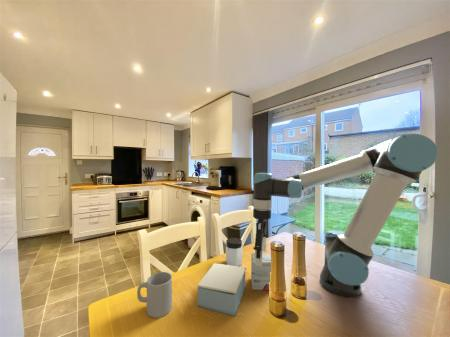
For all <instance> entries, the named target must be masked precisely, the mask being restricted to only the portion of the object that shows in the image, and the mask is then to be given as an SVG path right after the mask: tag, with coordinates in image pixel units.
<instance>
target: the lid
mask: <svg viewBox="0 0 450 337" xmlns="http://www.w3.org/2000/svg"><path fill="white" fill-rule="evenodd" d="M246 270H247V268H246V267H245V266H232V265H227V264H223V263H222V264H221V263H213V265H211V266H210V268H209V270H207V272H206V273H205V275H204V276H203V277H202V278H201V280H200V281H199V283H198V284H197V288H198V287H201V288H207V289H212V290H218V291H223V292H229V293H235V294H236V292H237V289H238V287H239V285H240V282H241V280H242V277H243V275H244V273H245V274H246Z"/></svg>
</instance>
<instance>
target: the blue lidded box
mask: <svg viewBox="0 0 450 337" xmlns="http://www.w3.org/2000/svg"><path fill="white" fill-rule="evenodd" d="M245 289H246V272H245V273H244V275H243V277H242V280H241V282H240V285H239V287H238V289H237V292H236V294H235V293H229V292H223V291H218V290H212V289H207V288H201V287H198V286H197V307H198V308H202V309H205V310H210V311H212V312H217V313H222V314H225V315H229V316H232V317H236V315H237V312H238V309H239V307H240V304H241V301H242V298H243V295H244V294H245V293H244V292H245V291H246V290H245Z"/></svg>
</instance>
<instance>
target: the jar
mask: <svg viewBox="0 0 450 337" xmlns="http://www.w3.org/2000/svg"><path fill="white" fill-rule="evenodd" d="M225 263H226V264H225V265H232V266H239V267H241V266H242V265H243V241H242V239H241V238H237V237H229V238H227V239H226V241H225Z"/></svg>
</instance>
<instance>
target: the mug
mask: <svg viewBox="0 0 450 337" xmlns="http://www.w3.org/2000/svg"><path fill="white" fill-rule="evenodd" d="M142 288H145V289H146V296H144V297H143V295H142V294H141V289H142ZM136 296H137V300H138V301H139V302H141V303H146V314H147V316H148V317H150V318H154V319H158V318H159V319H160V318H162V317H164V316H166V315H168V314H169V313H170V312H171V310H172V308H173V277H172V274H171V273H169V272H167V271H160V272H155V273H153V274H151V275H150V276H149V277H148V278H147V280H146V281H145V282H141V283H139V285H138V287H137V291H136Z"/></svg>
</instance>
